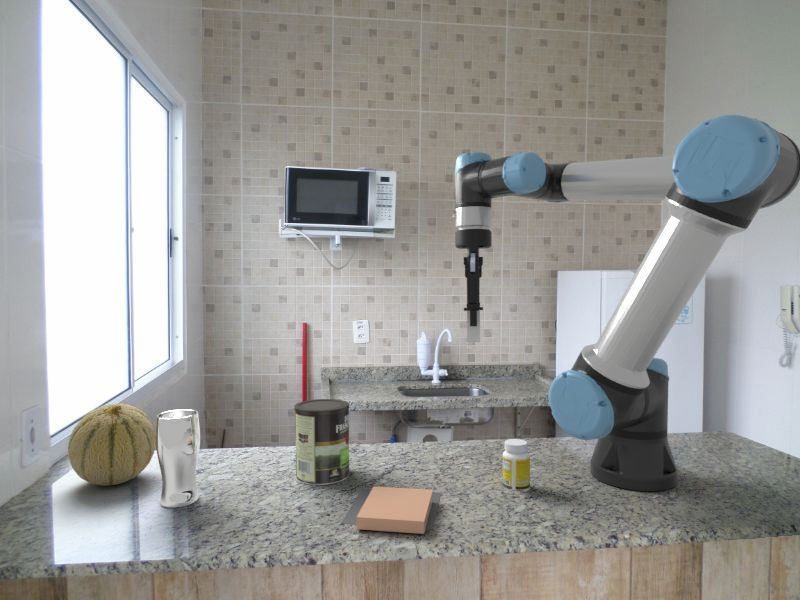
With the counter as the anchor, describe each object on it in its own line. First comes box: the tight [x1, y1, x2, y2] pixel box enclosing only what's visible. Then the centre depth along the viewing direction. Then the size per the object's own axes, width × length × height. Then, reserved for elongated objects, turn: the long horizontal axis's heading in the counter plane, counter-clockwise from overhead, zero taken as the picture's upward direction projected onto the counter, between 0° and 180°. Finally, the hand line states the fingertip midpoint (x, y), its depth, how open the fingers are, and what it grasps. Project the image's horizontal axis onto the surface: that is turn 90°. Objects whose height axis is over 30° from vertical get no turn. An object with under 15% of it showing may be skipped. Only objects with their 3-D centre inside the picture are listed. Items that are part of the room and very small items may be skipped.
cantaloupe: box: [67, 403, 156, 487], centre depth 101 cm, size 15×15×15 cm
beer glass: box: [155, 408, 201, 509], centre depth 92 cm, size 7×7×15 cm
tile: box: [356, 485, 434, 535], centre depth 84 cm, size 10×2×12 cm
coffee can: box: [293, 398, 350, 486], centre depth 102 cm, size 10×10×14 cm
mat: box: [340, 487, 442, 531], centre depth 88 cm, size 14×14×1 cm
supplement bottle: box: [502, 438, 531, 493], centre depth 97 cm, size 5×5×8 cm
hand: (473, 341), depth 114 cm, fingers closed
